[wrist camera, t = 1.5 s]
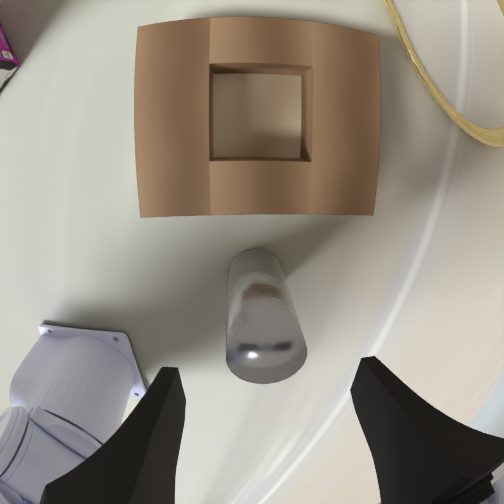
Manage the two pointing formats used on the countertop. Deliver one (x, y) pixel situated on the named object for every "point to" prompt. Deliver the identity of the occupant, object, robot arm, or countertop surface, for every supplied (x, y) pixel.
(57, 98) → the countertop surface
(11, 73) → the candy bar box
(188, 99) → the socket block
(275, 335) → the pin
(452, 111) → the yellow rubber band
